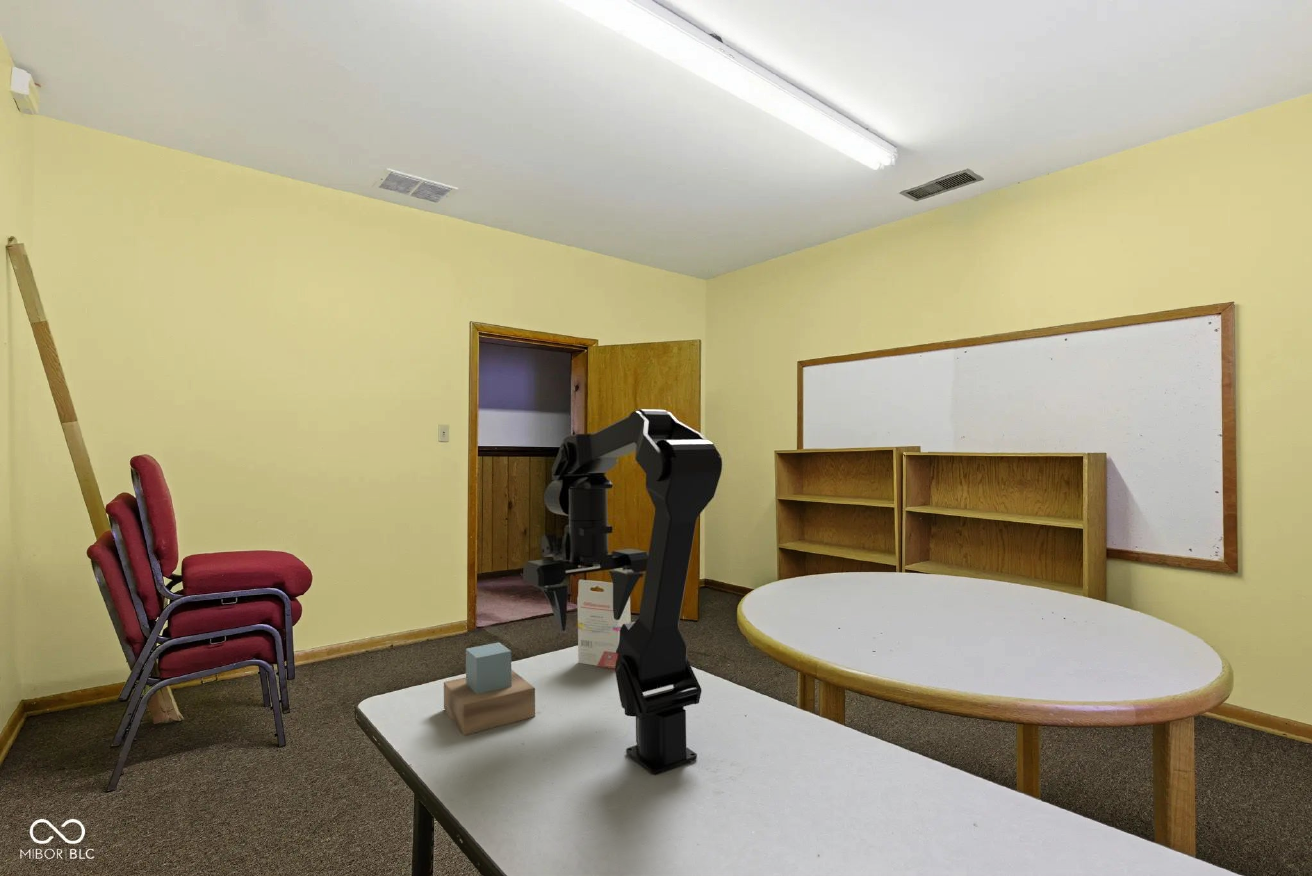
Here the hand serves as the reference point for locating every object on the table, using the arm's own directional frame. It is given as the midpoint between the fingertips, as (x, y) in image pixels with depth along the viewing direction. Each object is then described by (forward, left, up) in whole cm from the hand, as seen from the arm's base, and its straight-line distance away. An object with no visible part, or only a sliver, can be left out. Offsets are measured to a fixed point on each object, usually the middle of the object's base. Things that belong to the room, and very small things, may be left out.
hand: (590, 624), depth 92 cm
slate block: (+6, +13, -8) cm, 17 cm away
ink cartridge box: (+15, -11, -12) cm, 22 cm away
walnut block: (+6, +13, -12) cm, 19 cm away
